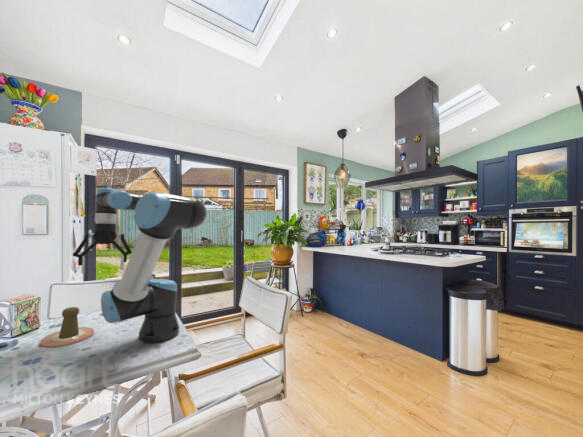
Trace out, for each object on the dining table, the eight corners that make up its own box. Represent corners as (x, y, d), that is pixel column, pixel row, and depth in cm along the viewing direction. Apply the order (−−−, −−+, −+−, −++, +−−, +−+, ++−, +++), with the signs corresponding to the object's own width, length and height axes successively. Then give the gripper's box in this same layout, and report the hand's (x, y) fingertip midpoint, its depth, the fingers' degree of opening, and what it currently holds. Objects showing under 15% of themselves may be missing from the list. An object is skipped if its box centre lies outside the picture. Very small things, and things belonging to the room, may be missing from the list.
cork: (77, 330, 101) (79, 304, 101) (80, 335, 97) (82, 307, 98) (57, 335, 96) (59, 307, 97) (59, 340, 92) (61, 311, 93)
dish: (94, 339, 96) (95, 336, 96) (37, 351, 85) (37, 349, 86) (93, 326, 108) (93, 324, 108) (42, 335, 97) (42, 333, 98)
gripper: (136, 224, 117) (134, 267, 116) (66, 222, 100) (63, 273, 99) (140, 223, 112) (138, 269, 111) (67, 222, 95) (64, 276, 93)
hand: (103, 271), depth 105 cm, fingers open, 13 cm apart
